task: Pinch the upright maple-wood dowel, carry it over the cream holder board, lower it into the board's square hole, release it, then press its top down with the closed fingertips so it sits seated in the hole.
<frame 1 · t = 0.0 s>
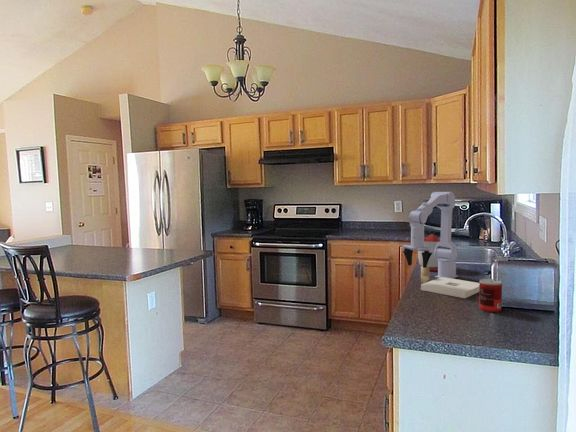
hand: (417, 266, 186), 10 cm above the worktop, fingers open, 7 cm apart
holder board: (452, 289, 182), on the worktop
maple dowel: (425, 282, 195), on the worktop
canned food: (490, 310, 153), on the worktop
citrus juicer: (432, 269, 226), on the worktop
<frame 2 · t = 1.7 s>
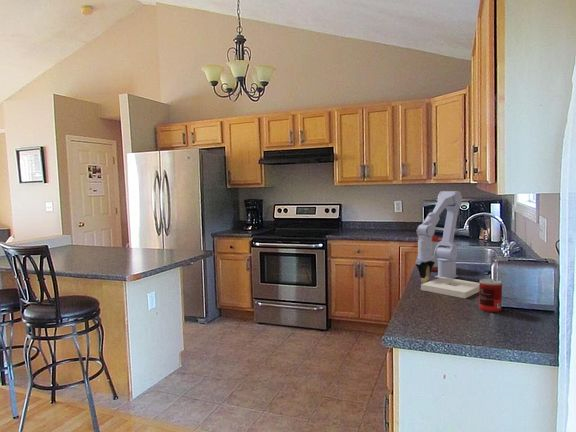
hand: (425, 276, 195), 3 cm above the worktop, fingers closed on maple dowel, 4 cm apart
maple dowel: (425, 282, 195), on the worktop, touching gripper
everything else where it was.
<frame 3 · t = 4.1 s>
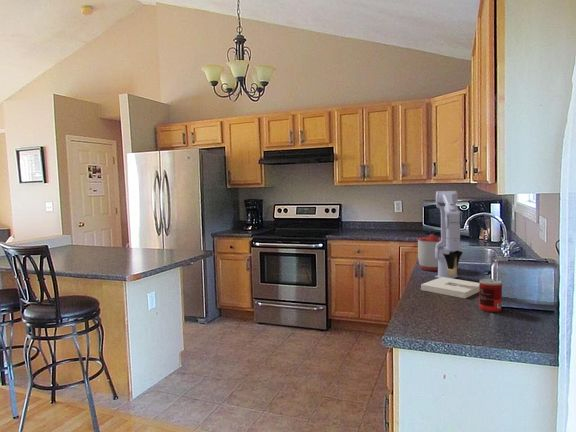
hand: (452, 267, 182), 10 cm above the worktop, fingers closed on maple dowel, 4 cm apart
maple dowel: (452, 274, 182), point 7 cm above the worktop, touching gripper
everything else where it was.
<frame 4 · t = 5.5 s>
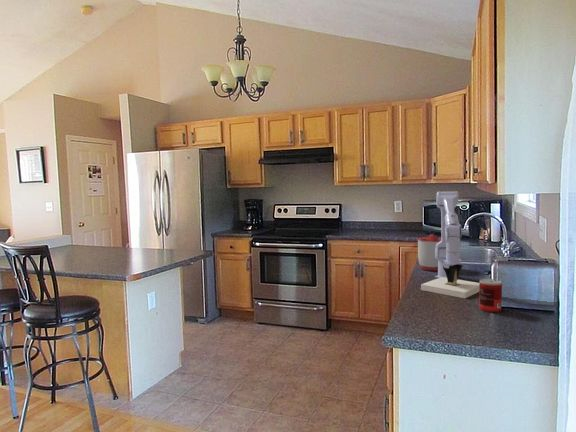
hand: (452, 281, 182), 4 cm above the worktop, fingers closed on maple dowel, 4 cm apart
maple dowel: (452, 287, 182), point 1 cm above the worktop, touching gripper
everything else where it was.
when the fingers open (3 cm above the worktop, at t = 6.5 s): maple dowel stays where it is, resting in holder board.
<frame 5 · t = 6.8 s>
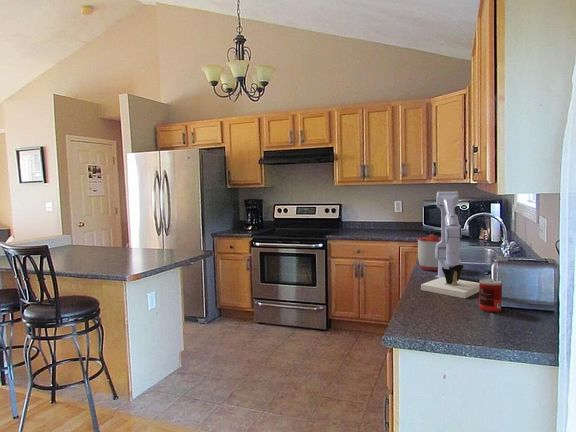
hand: (452, 282, 182), 3 cm above the worktop, fingers open, 7 cm apart
maple dowel: (452, 289, 182), resting in holder board
everything else where it was.
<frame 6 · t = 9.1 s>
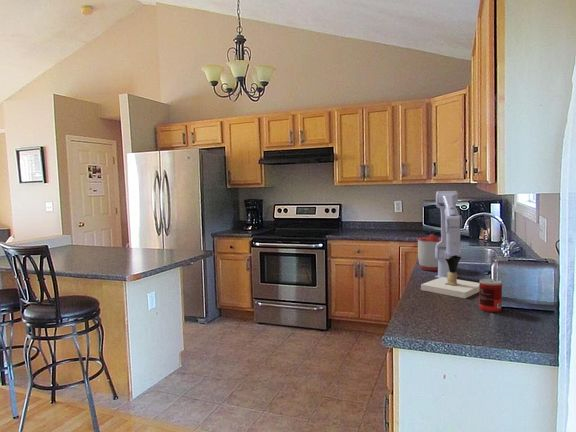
hand: (452, 272, 182), 8 cm above the worktop, fingers closed, pressing on maple dowel
maple dowel: (452, 289, 182), resting in holder board, touching gripper
everything else where it was.
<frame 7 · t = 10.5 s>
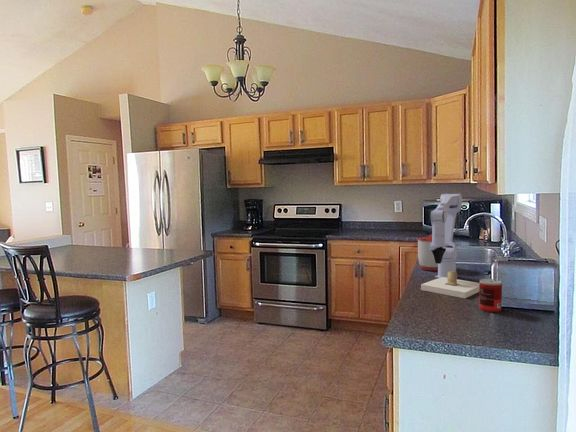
hand: (438, 263, 193), 10 cm above the worktop, fingers closed
maple dowel: (452, 289, 182), resting in holder board
everything else where it was.
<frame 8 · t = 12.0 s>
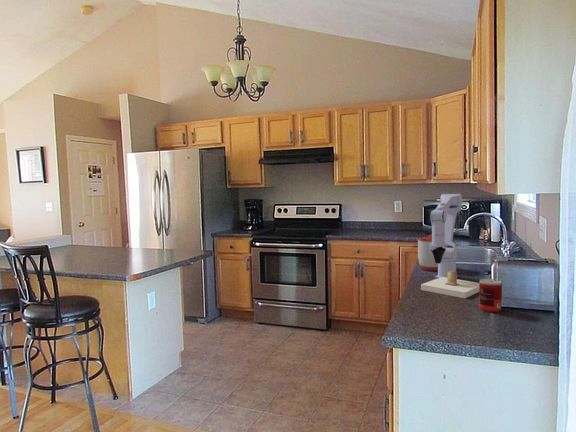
hand: (438, 263, 193), 10 cm above the worktop, fingers closed
nothing on the worktop moved.
at the end: maple dowel 0.2 cm off-centre on the holder board, point 0.0 cm above the holder board's base; maple dowel tilted 0°; the gripper is holding nothing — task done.
